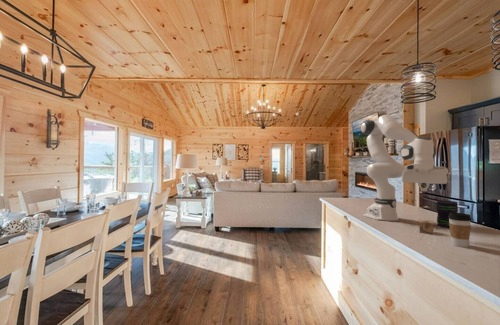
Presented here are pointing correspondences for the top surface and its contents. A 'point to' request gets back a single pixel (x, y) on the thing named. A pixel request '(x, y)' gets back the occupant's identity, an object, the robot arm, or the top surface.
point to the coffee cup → (460, 229)
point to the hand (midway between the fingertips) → (423, 191)
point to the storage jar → (445, 212)
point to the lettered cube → (426, 226)
